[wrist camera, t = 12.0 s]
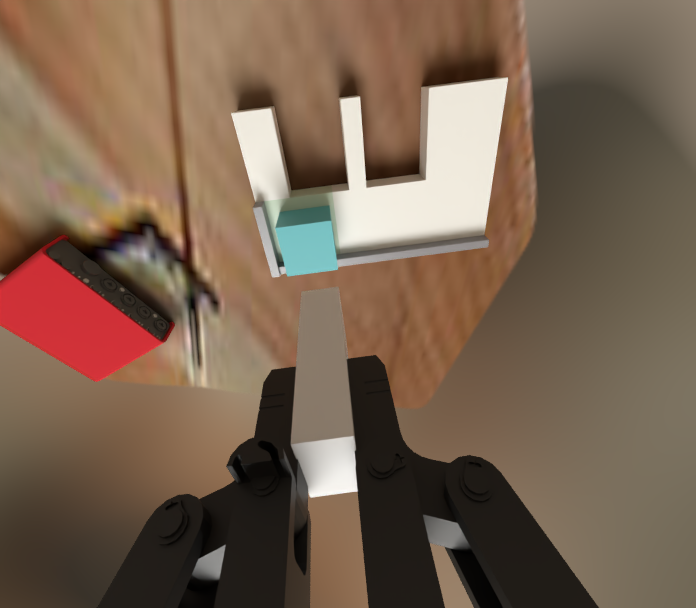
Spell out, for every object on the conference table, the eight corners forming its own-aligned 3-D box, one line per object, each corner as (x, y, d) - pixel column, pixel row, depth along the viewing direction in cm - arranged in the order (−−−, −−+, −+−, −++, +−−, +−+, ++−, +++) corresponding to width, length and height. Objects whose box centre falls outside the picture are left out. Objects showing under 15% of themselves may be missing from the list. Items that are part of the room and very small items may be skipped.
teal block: (279, 212, 38) (275, 228, 34) (329, 205, 38) (330, 220, 34) (290, 256, 42) (287, 276, 38) (335, 250, 42) (338, 269, 38)
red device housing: (176, 322, 51) (164, 344, 47) (114, 360, 54) (98, 383, 50) (65, 232, 41) (38, 250, 37) (-1, 285, 45) (-33, 306, 41)
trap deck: (237, 110, 35) (226, 115, 31) (494, 77, 35) (518, 77, 31) (276, 259, 45) (272, 277, 41) (474, 233, 45) (489, 248, 41)
